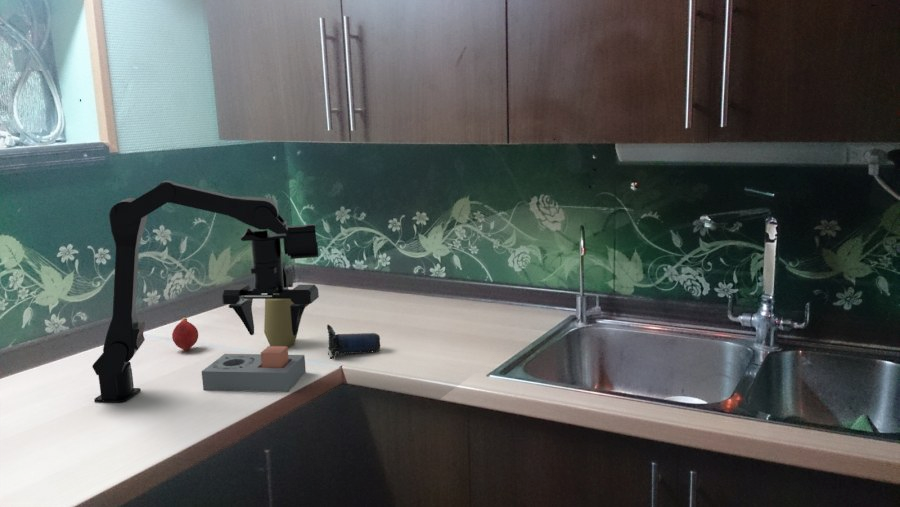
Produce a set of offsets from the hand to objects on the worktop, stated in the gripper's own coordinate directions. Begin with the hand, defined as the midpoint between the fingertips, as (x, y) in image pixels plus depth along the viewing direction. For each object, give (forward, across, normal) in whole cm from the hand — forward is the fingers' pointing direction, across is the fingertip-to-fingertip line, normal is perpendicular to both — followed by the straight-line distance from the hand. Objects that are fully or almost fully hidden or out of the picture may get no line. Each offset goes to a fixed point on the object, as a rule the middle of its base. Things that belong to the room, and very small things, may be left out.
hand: (273, 334), depth 155 cm
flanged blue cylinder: (+11, -11, -19) cm, 25 cm away
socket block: (+10, +5, 0) cm, 11 cm away
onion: (+10, +30, -19) cm, 37 cm away
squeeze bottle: (+10, +8, -24) cm, 27 cm away
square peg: (+10, 0, 0) cm, 10 cm away
